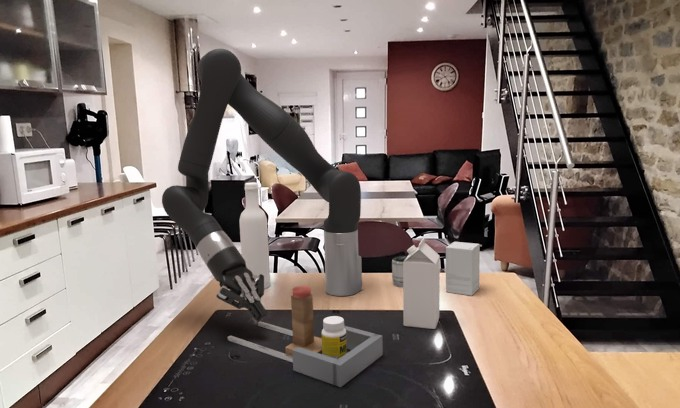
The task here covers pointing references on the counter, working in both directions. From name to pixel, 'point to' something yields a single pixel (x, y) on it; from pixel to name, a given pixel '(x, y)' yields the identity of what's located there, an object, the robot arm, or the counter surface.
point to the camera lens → (398, 270)
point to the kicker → (303, 322)
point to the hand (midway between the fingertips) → (262, 318)
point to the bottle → (254, 235)
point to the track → (262, 348)
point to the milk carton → (421, 287)
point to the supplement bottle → (334, 337)
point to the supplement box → (462, 268)
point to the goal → (344, 368)
